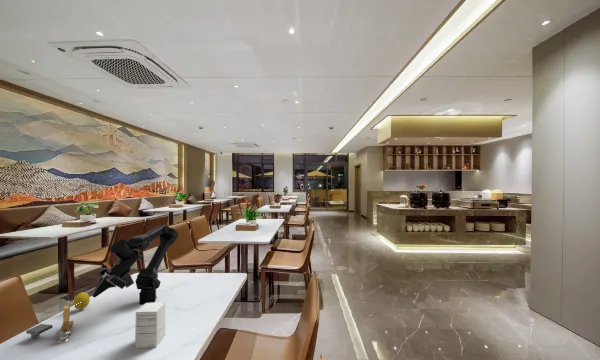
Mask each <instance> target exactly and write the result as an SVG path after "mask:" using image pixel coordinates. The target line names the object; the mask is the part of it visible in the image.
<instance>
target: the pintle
mask: <svg viewBox="0 0 600 360" xmlns="http://www.w3.org/2000/svg"><path fill="white" fill-rule="evenodd" d="M70 333H71V334H72V331H71V329H66V330H63V331H60V330H59V331H58V332H57V333H56V338H58V340H57V341H56V343H57V344H58V345H59V344H64V343H67V342H68V341H70V340H71V337H70V336H68V335H69V334H70Z"/></svg>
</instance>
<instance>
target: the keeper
mask: <svg viewBox="0 0 600 360" xmlns="http://www.w3.org/2000/svg"><path fill="white" fill-rule="evenodd" d="M51 329H53V324H45V323H40V324H38V325H35V326H33V327H32V328H31V327H30V328H29V329H27V330H25V331H26V332H25V333H26V334H28V335H29V334H30V339H31V338H33V339H32V340H36V339H37V338H40V335H42V334H43V333H45V332H46V331H49V330H51Z"/></svg>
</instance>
